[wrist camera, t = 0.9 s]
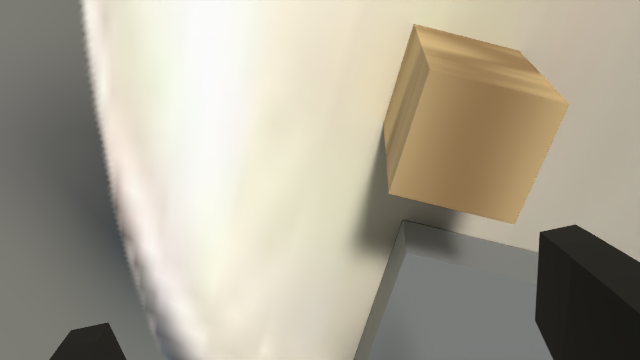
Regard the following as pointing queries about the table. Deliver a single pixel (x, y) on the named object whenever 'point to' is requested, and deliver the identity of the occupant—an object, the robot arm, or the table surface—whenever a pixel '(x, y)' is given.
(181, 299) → the table surface
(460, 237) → the slate stand
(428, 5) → the table surface
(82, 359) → the robot arm
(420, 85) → the oak block
